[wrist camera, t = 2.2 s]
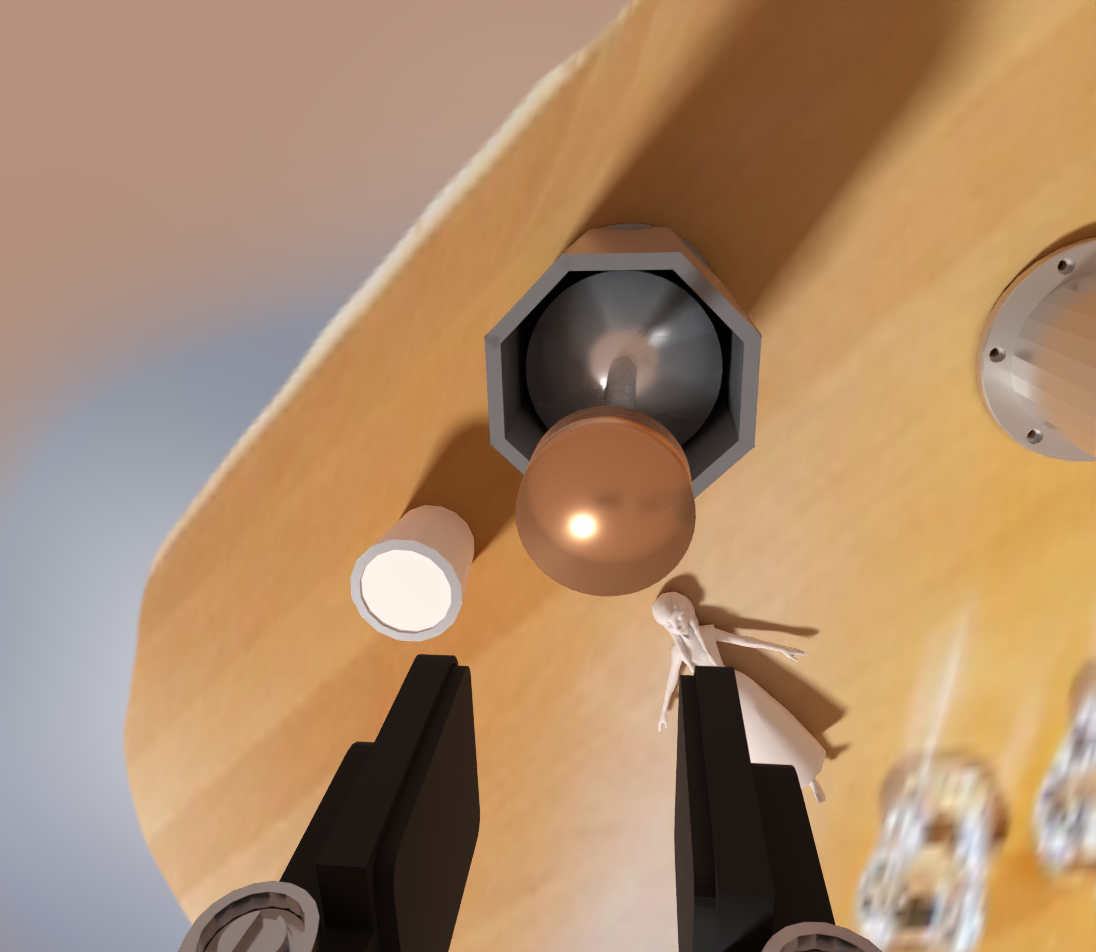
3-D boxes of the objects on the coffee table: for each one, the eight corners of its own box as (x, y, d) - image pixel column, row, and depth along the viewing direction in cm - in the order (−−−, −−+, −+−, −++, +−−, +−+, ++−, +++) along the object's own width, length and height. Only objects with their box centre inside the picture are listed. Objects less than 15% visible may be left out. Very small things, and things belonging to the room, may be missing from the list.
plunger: (726, 267, 34) (794, 344, 18) (716, 460, 36) (769, 670, 21) (524, 270, 35) (423, 345, 19) (530, 458, 37) (447, 657, 22)
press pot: (726, 220, 46) (772, 245, 29) (715, 459, 51) (749, 599, 34) (536, 224, 47) (474, 250, 30) (543, 457, 52) (493, 591, 35)
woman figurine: (734, 856, 56) (583, 653, 53) (730, 812, 60) (591, 622, 57) (891, 786, 52) (739, 565, 50) (875, 744, 57) (735, 539, 54)
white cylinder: (445, 477, 53) (417, 519, 47) (503, 560, 55) (484, 612, 48) (364, 526, 55) (326, 573, 49) (423, 605, 57) (394, 660, 50)
